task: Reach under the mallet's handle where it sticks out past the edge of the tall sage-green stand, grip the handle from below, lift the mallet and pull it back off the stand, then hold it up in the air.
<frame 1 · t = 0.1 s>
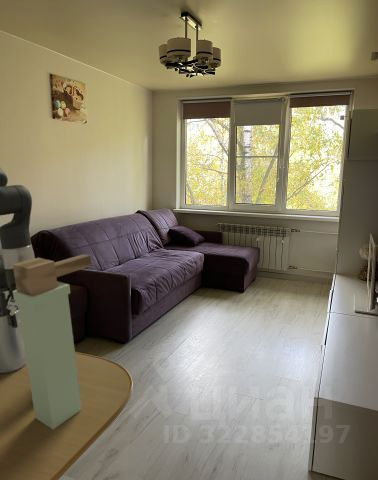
hand: (29, 321, 99), 17 cm above the table, tool pointing down, fingers open, 8 cm apart
mallet: (37, 289, 80), point 32 cm above the table, touching stand
stand: (58, 413, 88), on the table
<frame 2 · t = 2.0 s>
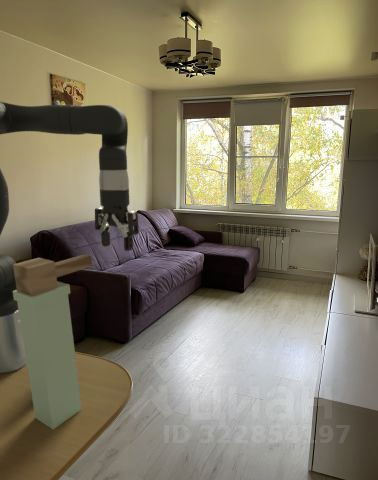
hand: (117, 248, 99), 35 cm above the table, tool pointing down, fingers open, 8 cm apart
nothing on the table moved.
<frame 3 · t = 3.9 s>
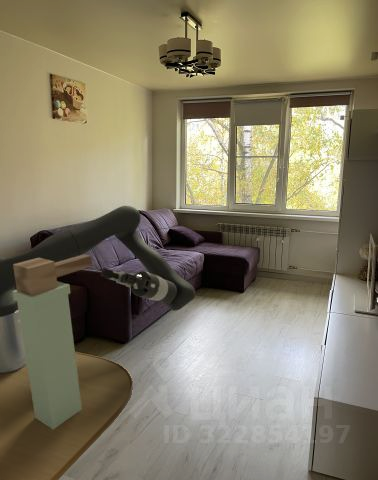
hand: (112, 274, 98), 29 cm above the table, tool pointing upward, fingers open, 8 cm apart
nothing on the table moved.
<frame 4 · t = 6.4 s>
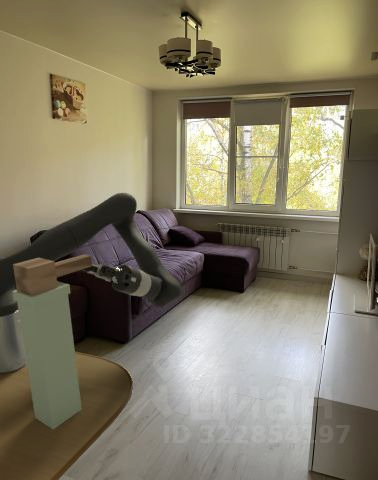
hand: (90, 266, 92), 33 cm above the table, tool pointing upward, fingers open, 8 cm apart
nothing on the table moved.
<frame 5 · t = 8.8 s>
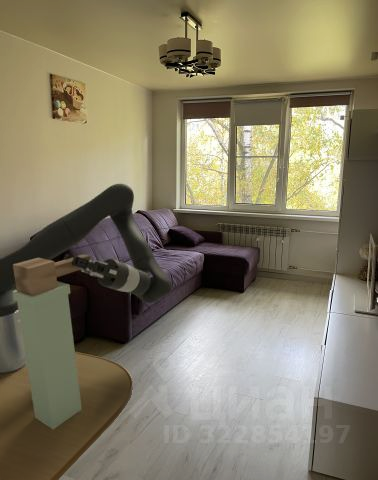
hand: (69, 259, 86), 36 cm above the table, tool pointing upward, fingers closed on mallet, 2 cm apart
mallet: (37, 289, 80), point 32 cm above the table, touching gripper, stand
everything else where it was.
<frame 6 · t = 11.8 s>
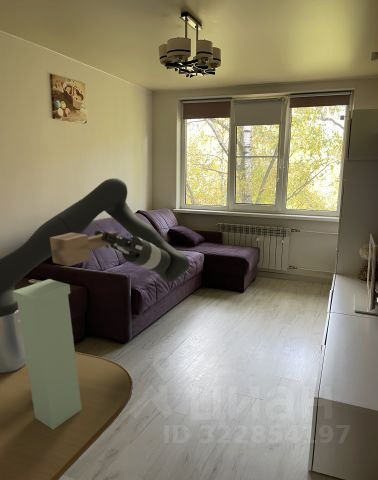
hand: (99, 234, 93), 40 cm above the table, tool pointing upward, fingers closed on mallet, 2 cm apart
mallet: (71, 261, 87), point 36 cm above the table, touching gripper
everything else where it was.
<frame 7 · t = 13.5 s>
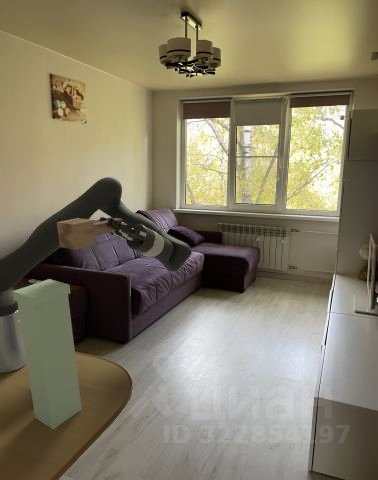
hand: (104, 221, 95), 43 cm above the table, tool pointing upward, fingers closed on mallet, 2 cm apart
mallet: (78, 245, 89), point 39 cm above the table, touching gripper
everything else where it was.
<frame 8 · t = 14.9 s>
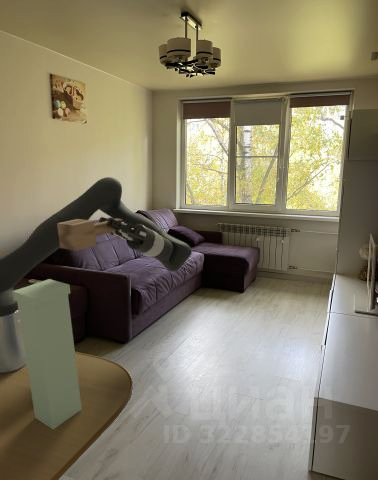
hand: (104, 221, 95), 43 cm above the table, tool pointing upward, fingers closed on mallet, 2 cm apart
mallet: (78, 246, 89), point 39 cm above the table, touching gripper
everything else where it was.
at the end: mallet moved 14.3 cm from its start; mallet touching gripper; mallet point 38.7 cm above the table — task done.
